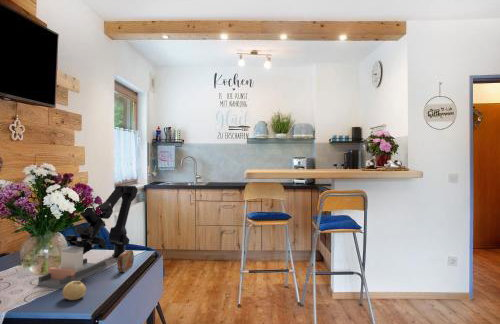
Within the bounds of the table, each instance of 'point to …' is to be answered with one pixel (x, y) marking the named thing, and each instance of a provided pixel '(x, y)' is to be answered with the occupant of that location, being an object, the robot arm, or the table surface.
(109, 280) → the table surface
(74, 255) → the pale grey box
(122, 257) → the tin
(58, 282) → the cable rail
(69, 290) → the onion
